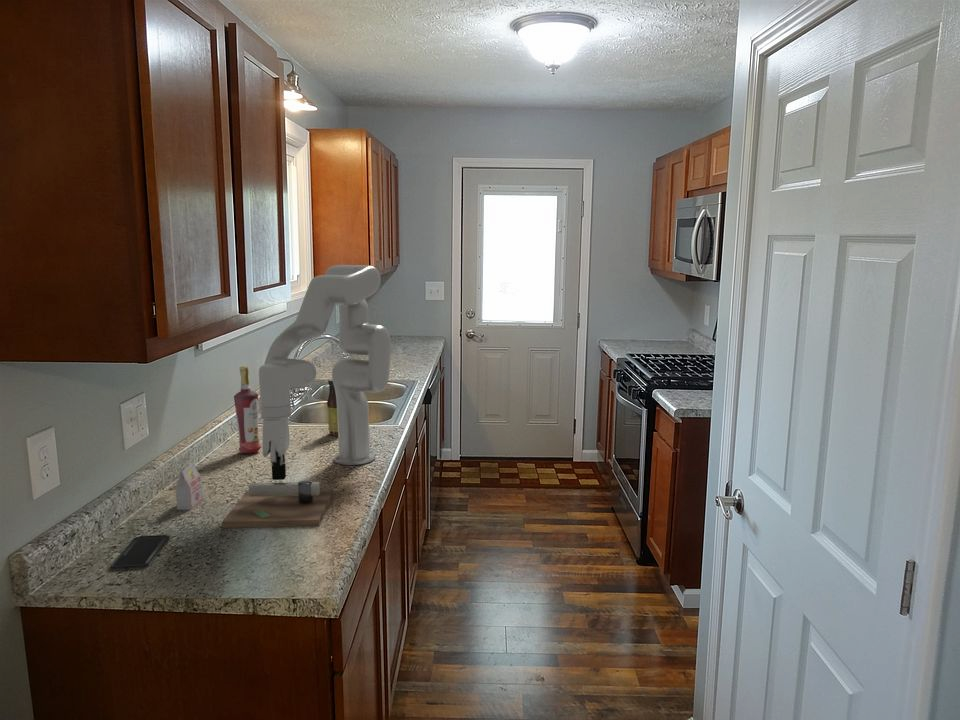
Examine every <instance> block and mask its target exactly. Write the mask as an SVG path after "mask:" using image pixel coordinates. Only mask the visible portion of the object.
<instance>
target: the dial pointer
mask: <svg viewBox="0 0 960 720" xmlns="http://www.w3.org/2000/svg"><path fill="white" fill-rule="evenodd" d="M320 488H321V486H320V481H310V480H302V481H298V482H295V481H294V482H251V483H249V484H248V490H249V497H262V496H298V498H299V502H300V503H309V502H311V501H313V495H319V494H320Z"/></svg>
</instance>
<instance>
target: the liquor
mask: <svg viewBox="0 0 960 720" xmlns="http://www.w3.org/2000/svg"><path fill="white" fill-rule="evenodd" d="M239 373H240V391H238V392H237V393H236V394H235V395H234V396H233V400H234V409H235V417H236V424H237V434H238V441H239V442H238V445H239V448H238V451H239V452H240V453H242V454H243V455H253V454H257V452H259V451H260V450H261V448H262V447H261V445H260V433H259V430H260V429H259V427H260V426H259V394H258V393H257V392H256V391H253V390H251V384H250V379H249V374H250V373H249V366H245V365H244V366H240V367H239Z"/></svg>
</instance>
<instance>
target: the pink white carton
mask: <svg viewBox="0 0 960 720" xmlns="http://www.w3.org/2000/svg"><path fill="white" fill-rule="evenodd" d="M202 478H203V477H201V474H200V473H199V471H198V470H197V468H196V465H195V463H192V464H191V465H189V466H187V467H186V468H185V469H183V470H182V471H180V474H179V477H178V480H177V483H176V485H175V488H174V489H175V490H174V491H175V498H176V499H175V501H176V509H177V510H182V511H183V510H184V511H189V510H190V511H192V510H193V509H194V508H195V507H196V506H198V505H199V504H200V503H201V502H203V501H204V493H203V491H204V490H203V480H202Z"/></svg>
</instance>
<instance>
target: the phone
mask: <svg viewBox="0 0 960 720" xmlns="http://www.w3.org/2000/svg"><path fill="white" fill-rule="evenodd" d="M170 540H171V537H170V535H169V534H159V535H158V534H157V535H156V534H155V535H139V536H136V537H133V539H132V540H131V541H130V542H129V543H128V545H127V546H126V547H125V548H124V549H123V550H122V551H121V552H120V553H119V554H118V556H117V557H116V558H115V559H114V560H113V562H112V563H111V564H110V566H109V567H110V570H111V571H126V570H142V569H147V568H149V567H150V566H151V565H152V563H153V562H154V561H155V559H156V558H157V555H158V556H159V554H160V553H161V551H162V550H163V549H164V548H165V546H166V545H167V544H168V543H169V541H170ZM166 543H167V544H166ZM163 547H164V548H163Z"/></svg>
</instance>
